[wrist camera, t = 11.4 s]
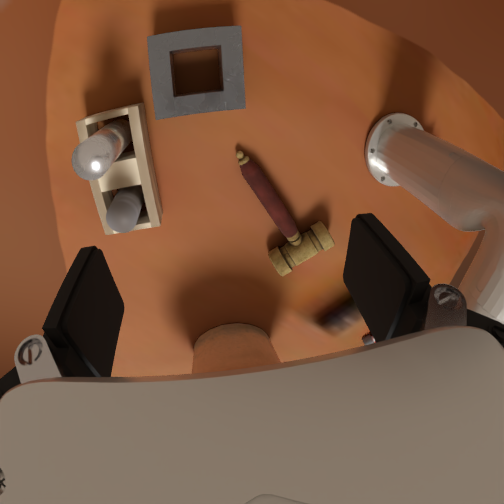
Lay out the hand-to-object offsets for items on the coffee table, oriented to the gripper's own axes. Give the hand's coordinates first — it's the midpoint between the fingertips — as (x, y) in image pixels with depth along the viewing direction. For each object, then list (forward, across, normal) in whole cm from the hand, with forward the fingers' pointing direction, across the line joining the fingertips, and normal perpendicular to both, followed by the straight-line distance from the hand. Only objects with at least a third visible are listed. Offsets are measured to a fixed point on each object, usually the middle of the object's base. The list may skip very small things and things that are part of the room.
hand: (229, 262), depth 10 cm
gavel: (+31, -8, +13) cm, 34 cm away
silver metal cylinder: (+29, +12, -1) cm, 32 cm away
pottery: (+30, +2, +46) cm, 55 cm away
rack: (+29, +13, +4) cm, 32 cm away
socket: (+29, +2, -7) cm, 30 cm away
